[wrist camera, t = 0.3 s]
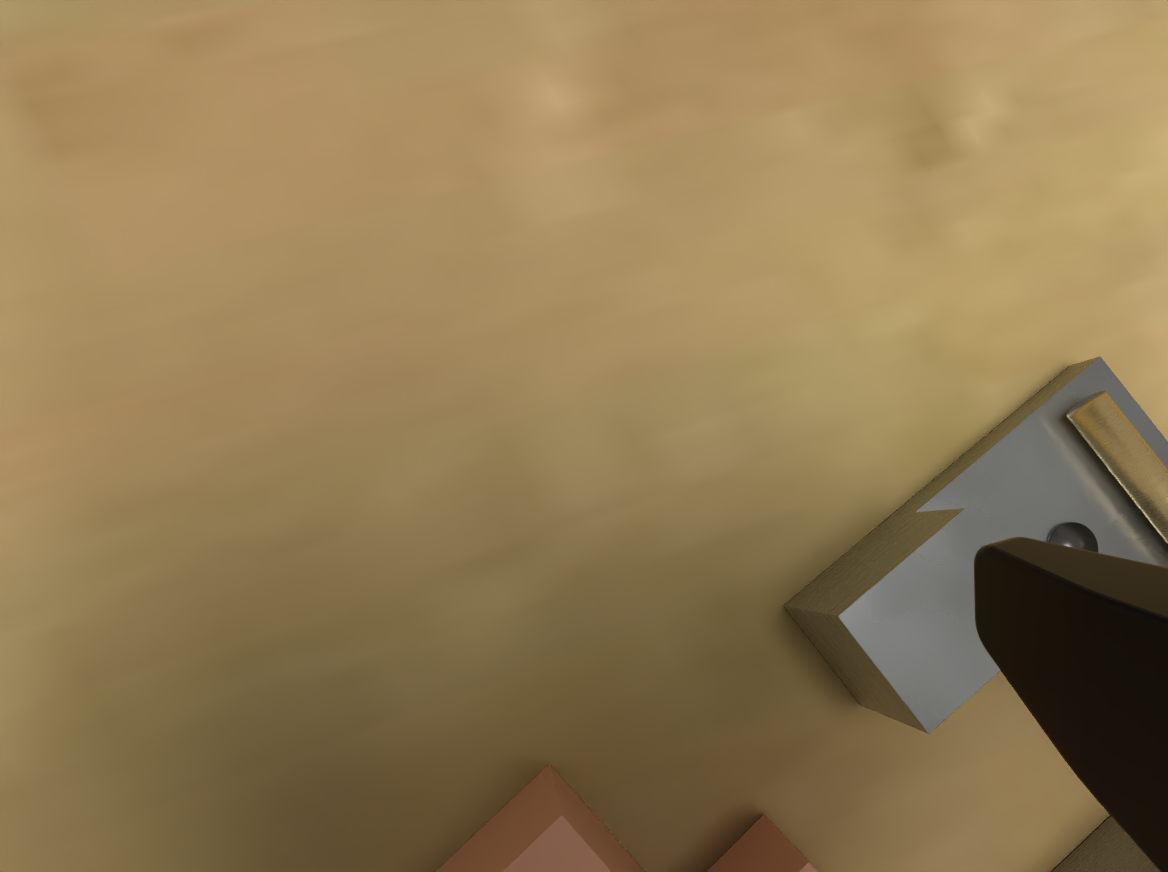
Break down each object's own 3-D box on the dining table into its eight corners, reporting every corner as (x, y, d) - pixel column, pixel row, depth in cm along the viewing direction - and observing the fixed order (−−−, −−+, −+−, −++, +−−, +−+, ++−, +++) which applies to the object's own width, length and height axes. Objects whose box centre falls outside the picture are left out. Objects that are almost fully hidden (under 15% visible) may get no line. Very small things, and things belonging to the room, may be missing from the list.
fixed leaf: (1364, 738, 24) (1515, 771, 20) (1094, 1007, 22) (1206, 1092, 19) (1069, 365, 24) (1167, 336, 21) (783, 605, 23) (837, 616, 19)
